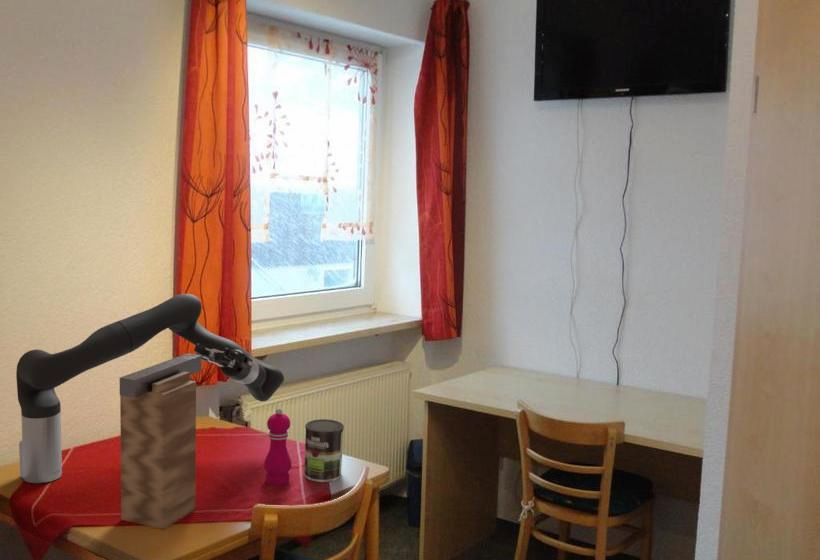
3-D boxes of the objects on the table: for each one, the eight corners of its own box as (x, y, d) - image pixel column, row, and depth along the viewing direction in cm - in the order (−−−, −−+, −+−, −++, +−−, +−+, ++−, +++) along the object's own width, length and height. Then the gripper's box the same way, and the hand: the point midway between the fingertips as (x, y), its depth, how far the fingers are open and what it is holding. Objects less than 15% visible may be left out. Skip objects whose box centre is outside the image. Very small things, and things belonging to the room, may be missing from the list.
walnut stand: (121, 519, 192) (120, 378, 187) (153, 499, 203) (153, 366, 198) (164, 529, 188) (164, 385, 183) (195, 509, 199) (196, 373, 194)
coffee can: (331, 485, 217) (332, 434, 215) (296, 477, 221) (298, 427, 219) (348, 472, 227) (350, 422, 224) (315, 465, 230) (316, 416, 228)
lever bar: (119, 395, 181) (119, 377, 180) (187, 369, 204) (187, 353, 204) (134, 397, 180) (134, 380, 179) (201, 371, 203) (201, 355, 202)
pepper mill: (285, 487, 214) (287, 413, 211) (259, 484, 216) (260, 410, 212) (294, 477, 221) (296, 405, 218) (269, 473, 223) (271, 402, 219)
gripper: (221, 351, 227) (191, 332, 213) (266, 357, 223) (239, 338, 208) (213, 377, 225) (182, 359, 211) (259, 384, 220) (230, 367, 206)
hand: (210, 349), depth 209 cm, fingers open, 8 cm apart
